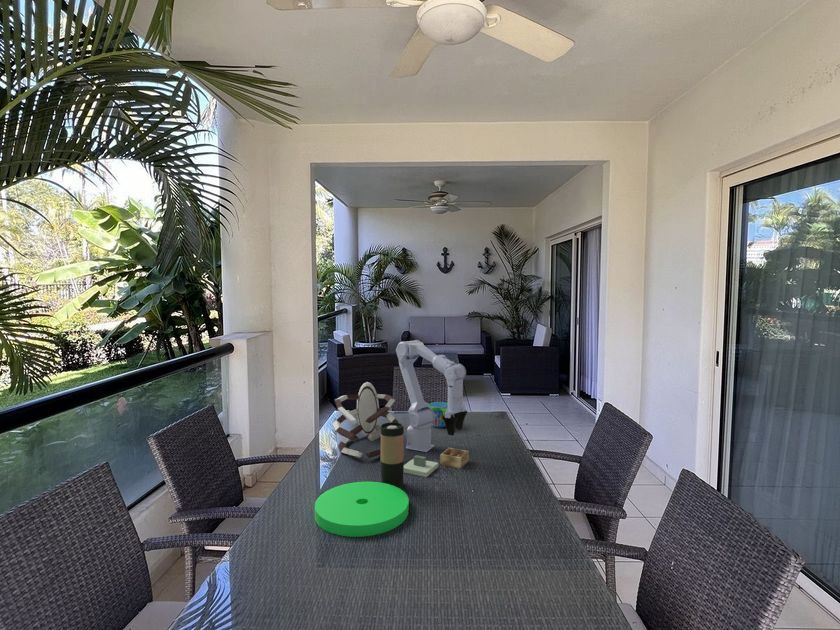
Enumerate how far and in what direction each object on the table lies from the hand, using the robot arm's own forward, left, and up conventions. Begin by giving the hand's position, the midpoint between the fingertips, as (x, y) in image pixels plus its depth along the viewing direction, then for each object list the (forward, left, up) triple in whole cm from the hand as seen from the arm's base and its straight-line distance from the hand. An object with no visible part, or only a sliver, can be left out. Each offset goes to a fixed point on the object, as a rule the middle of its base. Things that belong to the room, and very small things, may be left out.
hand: (455, 432), depth 172 cm
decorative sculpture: (-38, -4, -11) cm, 39 cm away
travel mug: (-10, -31, -11) cm, 34 cm away
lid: (-7, -15, -10) cm, 20 cm away
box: (+1, -4, -10) cm, 11 cm away
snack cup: (-23, +36, -11) cm, 44 cm away
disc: (-9, -50, -11) cm, 52 cm away
